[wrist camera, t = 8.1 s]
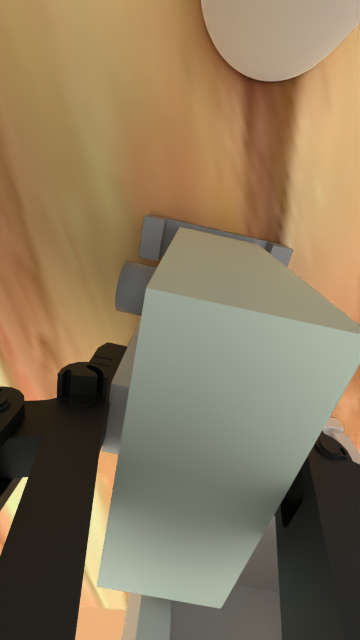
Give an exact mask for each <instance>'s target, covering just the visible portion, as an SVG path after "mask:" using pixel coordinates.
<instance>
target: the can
mask: <svg viewBox="0 0 360 640" xmlns="http://www.w3.org/2000/svg"><path fill="white" fill-rule="evenodd" d="M201 7H202V13H203V17H204V21H205V24H206V27H207V30H208V33H209V35H210V37H211V39H212V41H213V43H214V45H215V47H216V49H217V50H218V52H219V53H220V54H221V56H222V57H223V58H224V59H225V60H226V62H227V63H228V64H229V65H231V66H232V67H233V68H234V69H235V70H237V71H238V72H240V73H242V74H243V75H245V76H247V77H250V78H253V79H256V80H260V81H282V80H287V79H290V78H293V77H296V76H298V75H301V74H303V73H305V72H306V71H308V70H310V69H311V68H313V67H314V66H316V65H317V64H318V63H320V62H321V61H322V60H323V59H325V58H326V57H327V56H328V55H329V54H330V53H331V52H332V51H333V50H334V49H335V48H336V47H337V46H338V45H339V44H340V43H341V42H342V41H343V40H344V39H345V38H346V37H347V36H348V35H349V34H350V33H351V32H352V31H353V30H354V29H355V28H356V27H357V26H358V25H359V24H360V0H201Z"/></svg>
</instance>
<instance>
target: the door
mask: <svg viewBox="0 0 360 640" xmlns="http://www.w3.org/2000/svg"><path fill="white" fill-rule="evenodd" d="M116 310H117V311H122V312H126V313H131V314H136V315H140V316H141V322H140V328H139V334H138V340H137V346H136V352H135V358H134V364H133V370H132V376H131V382H130V388H129V394H128V400H127V407H126V413H125V419H124V425H123V431H122V437H121V443H120V449H119V455H118V461H117V467H116V473H115V479H114V485H113V492H112V498H111V504H110V510H109V516H108V522H107V528H106V534H105V540H104V546H103V552H102V558H101V564H100V570H99V577H98V583H97V587H102V588H108V589H114V590H119V591H125V592H130V593H136V594H141V595H147V596H153V597H158V598H164V599H169V600H175V601H180V602H186V603H192V604H197V605H203V606H208V607H214V608H219V609H221V608H222V606H223V604H224V602H225V601H226V599H227V597H228V595H229V594H230V592H231V590H232V588H233V587H234V585H235V583H236V581H237V580H238V578H239V576H240V574H241V572H242V571H243V569H244V567H245V565H246V564H247V562H248V560H249V558H250V557H251V555H252V553H253V551H254V550H255V548H256V546H257V544H258V543H259V541H260V539H261V537H262V535H263V534H264V532H265V530H266V528H267V527H268V525H269V523H270V521H271V520H272V518H273V516H274V514H275V513H276V511H277V509H278V507H279V506H280V504H281V502H282V500H283V498H284V497H285V495H286V493H287V491H288V490H289V488H290V486H291V484H292V483H293V481H294V479H295V477H296V476H297V474H298V472H299V470H300V469H301V467H302V465H303V463H304V461H305V460H306V458H307V456H308V454H309V453H310V451H311V449H312V447H313V446H314V444H315V442H316V440H317V439H318V437H319V435H320V433H321V431H322V430H323V428H324V426H325V424H326V423H327V421H328V419H329V417H330V416H331V414H332V412H333V410H334V409H335V407H336V405H337V403H338V402H339V400H340V398H341V396H342V394H343V393H344V391H345V389H346V387H347V386H348V384H349V382H350V380H351V379H352V377H353V375H354V373H355V372H356V370H357V368H358V366H359V365H360V325H359V324H357V323H356V322H355V321H354V320H352V319H351V318H350V317H349V316H347V315H346V314H345V313H344V312H342V311H341V310H340V309H339V308H337V307H336V306H335V305H334V304H332V303H331V302H330V301H329V300H327V299H326V298H325V297H324V296H322V295H321V294H320V293H319V292H317V291H316V290H315V289H314V288H312V287H311V286H310V285H308V284H307V283H306V282H305V281H303V280H302V279H301V278H300V277H298V276H297V275H296V274H295V273H293V272H292V271H291V270H290V269H288V268H287V267H286V266H285V265H283V264H282V263H281V262H280V261H278V260H277V259H276V258H275V257H273V256H272V255H271V254H270V253H268V252H267V251H266V250H265V249H263V248H262V247H261V246H260V245H258V244H254V243H250V242H245V241H241V240H237V239H232V238H228V237H223V236H219V235H214V234H210V233H205V232H201V231H197V230H192V229H188V228H183V227H179V229H178V231H177V233H176V235H175V236H174V238H173V240H172V242H171V244H170V245H169V247H168V249H167V251H166V253H165V255H164V256H163V258H162V260H161V262H160V264H159V265H158V267H153V266H148V265H143V264H139V263H134V262H130V261H126V262H125V263H124V265H123V267H122V270H121V273H120V277H119V281H118V285H117V291H116Z"/></svg>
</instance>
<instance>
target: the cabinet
mask: <svg viewBox="0 0 360 640" xmlns="http://www.w3.org/2000/svg"><path fill="white" fill-rule="evenodd" d="M179 227H183V228H188V229H192V230H197V231H201V232H205V233H210V234H214V235H219V236H223V237H228V238H232V239H237V240H241V241H245V242H250V243H254V244H258V245H260V246H261V247H262V248H263V249H265V250H266V251H267V252H268V253H270V254H271V255H272V256H273V257H275V258H276V259H277V260H278V261H280V262H281V263H282V264H283V265H285V266H286V267H287V265H288V262H289V260H290V257H291V254H292V252H293V250H292V249H291V248H289V247H287V246H285V245H282V244H278V243H274V242H269V241H265V240H261V239H256V238H252V237H247V236H243V235H239V234H234V233H230V232H226V231H221V230H217V229H213V228H208V227H204V226H199V225H195V224H191V223H186V222H182V221H178V220H173V219H169V218H164V217H160V216H156V215H151V214H148V215H146V216H144V222H143V229H142V235H141V242H140V249H139V256H138V257H140V258H145V259H149V260H154V261H158V260H159V258H160V257H163V256H164V255H165V253H166V251H167V249H168V247H169V245H170V244H171V242H172V240H173V238H174V236H175V235H176V233H177V231H178V229H179ZM343 430H344V429H343V427H342V425H341V424H340V422H339V421H338V419H337V418H332V417H329V419H328V421H327V423H326V424H325V426H324V428H323V432H324V434H326V435H329V436H331V437H332V438H334V439H335V440H337V441H338V442H340V443H341V444H342V445H343V446H344V447H345V449H346V450H347V451H348V453H349V454H350V456H351V458H352V461H354V462H356V463H358V464H360V454H359V452H358V451H357V449H356V448H355V446H354V444H353V443H352V441H351V440H350V438H349V436H348V435H344V434H341V433H342V432H343ZM122 640H282V630H281V612H280V595H279V577H278V560H277V542H276V525H275V516H273V518H272V520H271V521H270V523H269V525H268V527H267V528H266V530H265V532H264V534H263V535H262V537H261V539H260V541H259V543H258V544H257V546H256V548H255V550H254V551H253V553H252V555H251V557H250V558H249V560H248V562H247V564H246V565H245V567H244V569H243V571H242V572H241V574H240V576H239V578H238V580H237V581H236V583H235V585H234V587H233V588H232V590H231V592H230V594H229V595H228V597H227V599H226V601H225V602H224V604H223V606H222V608H221V609H219V608H214V607H208V606H203V605H197V604H192V603H186V602H180V601H175V600H169V599H164V598H158V597H153V596H147V595H141V594H136V593H130V592H129V598H128V604H127V610H126V616H125V622H124V628H123V634H122Z"/></svg>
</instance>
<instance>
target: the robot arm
mask: <svg viewBox="0 0 360 640" xmlns="http://www.w3.org/2000/svg"><path fill="white" fill-rule="evenodd" d="M140 322H141V319H140V321H139V323H138V325H137V328H136V330H135V332H134V334H133V336H132V339H131V341H130V343H129V345H128V347H127V346H122V345H117V344H113V343H108V342H107V343H106V344H104V345H102V346H101V347H99V348H98V349H97V351H96V352H95V354H94V355H93V357H92V358H91V360H90V361H89V362H77V363H73V364H69V365H67V366H65V367H64V368H62V369H61V370H60V372H59V373H58V381H57V398H54V399H50V400H38V401H24V395H23V394H22V393H21V392H20V391H19V390H17V389H14V388H12V387H2V386H1V387H0V511H1V509H2V508H3V506H4V505H5V503H6V502H7V500H8V498H9V497H10V495H11V494H12V492H13V491H14V489H15V488H16V486H17V485H18V483H19V482H20V480H21V479H22V477H28V480H27V483H26V486H25V489H24V491H23V494H22V497H21V500H20V503H19V505H18V508H17V511H16V514H15V516H14V519H13V522H12V525H11V528H10V530H9V533H8V536H7V539H6V542H5V544H4V547H3V550H2V553H1V556H0V640H75V635H76V627H77V620H78V612H79V604H80V597H81V589H82V581H83V574H84V566H85V558H86V550H87V543H88V535H89V527H90V520H91V512H92V504H93V497H94V489H95V481H96V474H97V466H98V458H99V453H100V450H101V447H102V445H103V448H102V451H104V452H109V453H114V454H119V449H120V443H121V437H122V431H123V425H124V419H125V413H126V407H127V400H128V394H129V388H130V382H131V376H132V370H133V364H134V358H135V352H136V346H137V340H138V334H139V328H140ZM274 516H275V525H276V542H277V560H278V577H279V595H280V612H281V630H282V640H360V464H358V463H356V462H354V461H352V458H351V456H350V454H349V453H348V451H347V450H346V449H345V447H344V446H343V445H342V444H341V443H340V442H338V441H337V440H335V439H334V438H332V437H331V436H329V435H326V434H324V432H323V430H322V431H321V433H320V435H319V437H318V439H317V440H316V442H315V444H314V446H313V447H312V449H311V451H310V453H309V454H308V456H307V458H306V460H305V461H304V463H303V465H302V467H301V469H300V470H299V472H298V474H297V476H296V477H295V479H294V481H293V483H292V484H291V486H290V488H289V490H288V491H287V493H286V495H285V497H284V498H283V500H282V502H281V504H280V506H279V507H278V509H277V511H276V513H275V514H274Z"/></svg>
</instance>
